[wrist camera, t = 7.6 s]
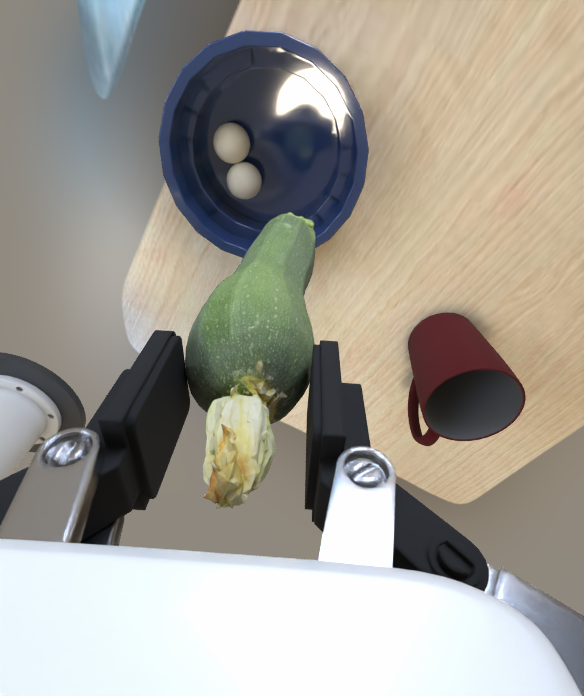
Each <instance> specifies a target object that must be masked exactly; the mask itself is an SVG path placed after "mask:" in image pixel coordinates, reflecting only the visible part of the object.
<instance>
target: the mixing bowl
mask: <svg viewBox="0 0 584 696" xmlns="http://www.w3.org/2000/svg"><path fill="white" fill-rule="evenodd" d="M225 123H236V124H238V125H240V126H241V127H243V128H244V130H245V131H246V132H247V134H248V136H249V140H250V149H249V153H248V155H247V156H246V158H245V159H244V160H242V161H241V162H248V163H250V164H252V165H254V166H255V167H256V168H257V169H258V171H259V173H260V175H261V180H262V184H261V188H260V190H259V192H258V193H257V195H256V196H254V197H253V198H251V199H246V200H244V199H239V198H237V197H235V196H234V195H233V194H232V193H231V192H230V190H229V188H228V186H227V174H228V172H229V170H230V168H231V167H232V166H233V165H235V164H236V163H235V164H231V163H227V162H225V161H223V160H222V159H220V158H219V156H218V155H217V154H216V152H215V149H214V145H213V138H214V134H215V132H216V130H217V129H218V128H219V127H220V126H221V125H223V124H225ZM159 146H160V154H161V161H162V168H163V174H164V178H165V180H166V183H167V185H168V187H169V190H170V192H171V194H172V197H173V199H174V201H175V204H176V206H177V207H178V209H179V210H180V211H181V212H182V214H183V215H184V216H185V217H186V219H187V220H188V221H189V222H190V224H191V225H192V226H193V227H194V229H195V230H196V231H197V232H198V233H199V234H200V235H202V236H203V237H204V238H206V239H207V240H209V241H210V242H211V243H213V244H214V245H215V246H217V247H218V248H220V249H221V250H223V251H226V252H229V253H231V254H234V255H237V256H240V257H242V258H244V256H245V254H246V253H247V251H248V249H249V248H250V246H251V245H252V243H253V242H254V241H255V240H256V238H257V237H258V236H259V234H260V233H261V231H262V230H263V228H264V227H265V225H266V224H267V223H268V222H269V221H270V220H272V219H273V218H275V217H277V216H279V215H281V214H285V213H286V214H287V213H289V212H291V213H293V214H294V215H295V216H298V217H300V216H302V217H303V218H305V219H310V220H312V221H313V222H314V227H313V229H314V231H315V235H316V241H315V248H316V247H318V246H320V245H321V244H323V243H325V242H326V241H328V240H329V239H331V237H332V236H333V235H334V234H335V233H336V232H337V231H338V229H339V228H340V227H341V226H342V225H343V224H344V223H345V221H346V220H347V219H348V218H349V217H350V215H351V213H352V211H353V209H354V207H355V204H356V202H357V200H358V198H359V196H360V193H361V191H362V189H363V187H364V186H363V185H364V182H365V174H366V167H367V160H368V152H369V151H368V150H369V148H368V142H367V135H366V129H365V123H364V116H363V113H362V110H361V108H360V106H359V104H358V102H357V99H356V97H355V95H354V93H353V91H352V89H351V87H350V85H349V83H348V81H347V79H346V78H345V76H344V75H343V74H342V73H341V72H340V71H339V70H338V69H337V68H336V67H335V66H334V65H333V64H332V63H331V62H330V61H329V60H328V59H327V58H326V57H325V56H324V55H323V54H322V53H321V52H320V51H319V50H318V49H317V48H315V47H313V46H311V45H308V44H306V43H304V42H302V41H300V40H298V39H296V38H293V37H291V36H289V35H287V34H285V33H282V32H267V31H246V30H245V31H241V32H239V33H236V34H233V35H230V36H228V37H225V38H222V39H220V40H217V41H214V42H212V43H210V44H208V45H207V46H206V47H205V48H203V50H201V51H200V52H199V53H198V54H197V55H196V56H195V57H194V58H193V59H192V60H191V61H190V62H188V63H187V64H186V65H185V66H184V67H183V68H182V70H181V71H180V72H179V74H178V76H177V78H176V80H175V82H174V84H173V86H172V88H171V90H170V92H169V94H168V96H167V98H166V101H165V103H164V108H163V114H162V122H161V127H160V134H159Z"/></svg>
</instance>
